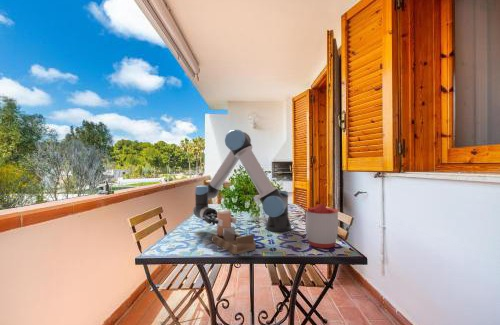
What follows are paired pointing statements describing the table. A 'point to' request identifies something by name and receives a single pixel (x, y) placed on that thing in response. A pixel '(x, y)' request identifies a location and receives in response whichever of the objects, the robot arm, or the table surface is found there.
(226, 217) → the jar
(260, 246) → the table surface
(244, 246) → the tray
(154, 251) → the table surface
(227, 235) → the pusher
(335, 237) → the citrus juicer
